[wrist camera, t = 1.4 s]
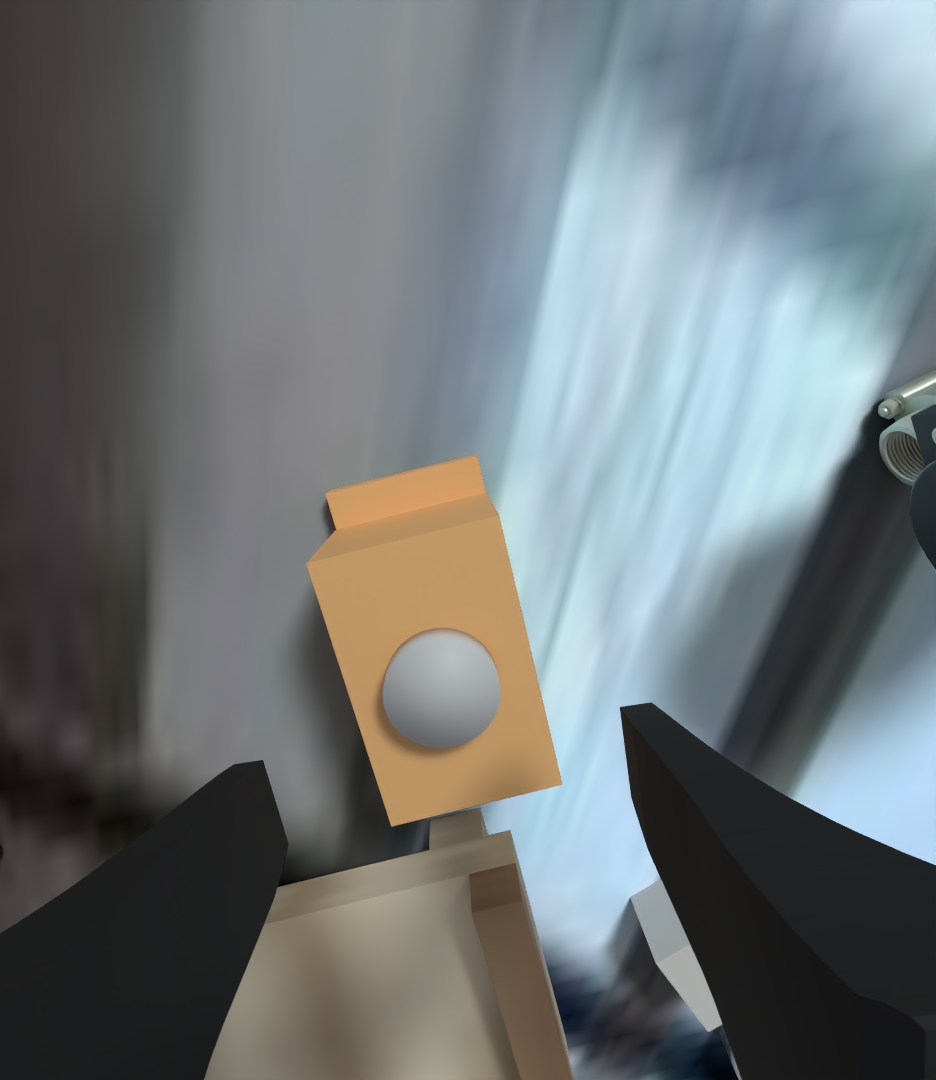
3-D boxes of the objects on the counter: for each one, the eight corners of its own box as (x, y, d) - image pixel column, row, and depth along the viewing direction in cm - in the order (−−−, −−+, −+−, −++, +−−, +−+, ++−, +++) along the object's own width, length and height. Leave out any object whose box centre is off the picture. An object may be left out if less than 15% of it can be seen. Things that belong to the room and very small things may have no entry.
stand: (171, 1092, 24) (112, 1244, 20) (79, 907, 22) (-12, 1031, 17) (557, 998, 24) (584, 1130, 20) (505, 802, 22) (521, 900, 17)
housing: (411, 757, 21) (400, 883, 15) (330, 490, 19) (282, 524, 13) (540, 725, 21) (577, 840, 15) (475, 454, 19) (490, 472, 13)
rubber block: (675, 956, 24) (708, 1032, 21) (628, 894, 23) (656, 963, 20) (757, 909, 24) (802, 980, 21) (712, 844, 23) (752, 908, 20)
